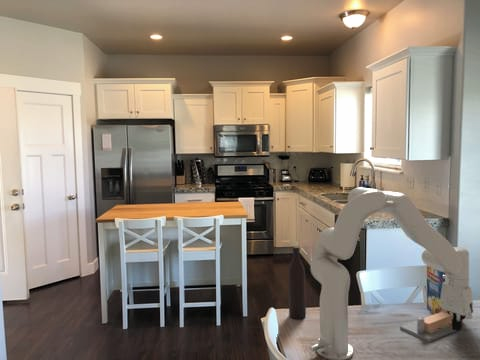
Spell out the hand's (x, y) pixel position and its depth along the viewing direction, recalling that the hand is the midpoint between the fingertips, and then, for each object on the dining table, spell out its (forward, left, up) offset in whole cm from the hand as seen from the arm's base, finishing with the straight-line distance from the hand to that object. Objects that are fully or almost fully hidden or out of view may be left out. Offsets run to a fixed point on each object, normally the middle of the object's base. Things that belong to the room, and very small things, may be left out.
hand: (456, 329), depth 138 cm
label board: (-4, +9, -2) cm, 10 cm away
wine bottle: (-39, +46, -3) cm, 60 cm away
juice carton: (+14, +15, -3) cm, 20 cm away
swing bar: (-2, +7, -1) cm, 7 cm away
